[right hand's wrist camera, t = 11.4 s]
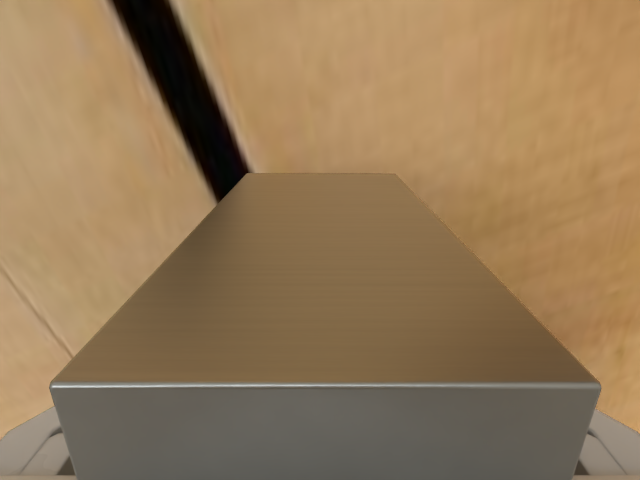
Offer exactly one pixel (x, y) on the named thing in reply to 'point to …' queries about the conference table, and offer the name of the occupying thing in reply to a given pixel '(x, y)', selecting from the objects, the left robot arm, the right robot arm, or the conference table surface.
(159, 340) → the box
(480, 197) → the conference table surface
